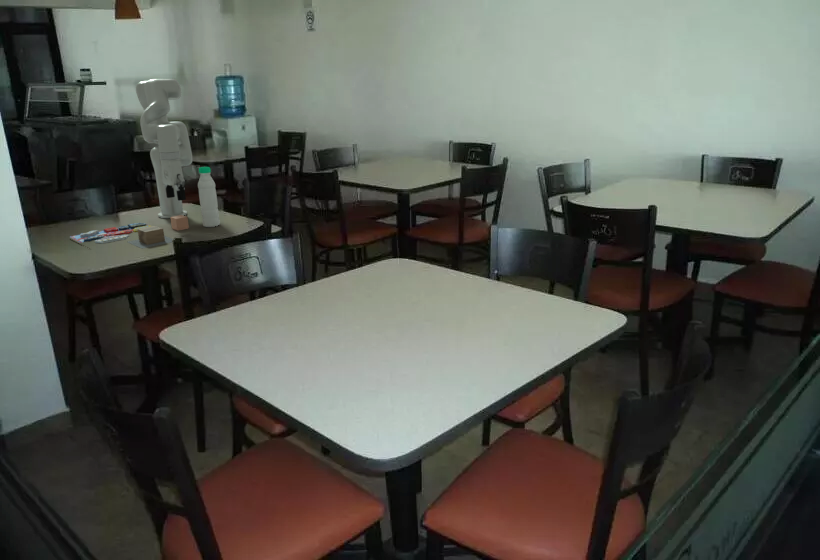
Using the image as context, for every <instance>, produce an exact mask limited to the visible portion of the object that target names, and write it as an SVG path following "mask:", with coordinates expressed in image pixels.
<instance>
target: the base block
mask: <svg viewBox="0 0 820 560" xmlns="http://www.w3.org/2000/svg"><path fill="white" fill-rule="evenodd" d="M150 226H151V227H145V228H140V229H137V230H138V232H137V234H138V236H137V237H138V239H139V242H142V243H144V244H146V245H149V244H154V243H158V242H163V241H165V237H164V236H165V231H164V228H162V227H159V226H157V225H150Z"/></svg>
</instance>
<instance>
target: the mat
mask: <svg viewBox="0 0 820 560" xmlns="http://www.w3.org/2000/svg"><path fill="white" fill-rule="evenodd" d="M164 237H165V241H163V242H158V243H154V244H149V245H146V244H144V243H142V242H139V238H138V239H135V240H129V241H127V243H128V244H131V245H133V246H134V247H137V248H140V249H147V248H152V247H156V246H161V245H165V244H169V243H173V242H172V240H173V239H174V238H172V237H169V236H166V235H164Z"/></svg>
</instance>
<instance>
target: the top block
mask: <svg viewBox="0 0 820 560" xmlns="http://www.w3.org/2000/svg"><path fill="white" fill-rule="evenodd" d="M188 218H189V217H188V216H187V215H185V216H184V215H179V216H173V217H170V218H169V219H170V225H171V230H175V231H177V232H178V231H182V230H186V229H187V230H188V229H190V225H189V219H188Z"/></svg>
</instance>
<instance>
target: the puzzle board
mask: <svg viewBox="0 0 820 560" xmlns="http://www.w3.org/2000/svg"><path fill="white" fill-rule="evenodd" d="M151 226H152V225H150V224H147V223H144V222H136V223H130V224H128V223H127V225H121V226H118V227H115V226H114V227H107V228H103V230H98V229H96V230H95V229H94V230H90V231H88V232H80V233H79V234H76V235H70V236H69V239H70V240H71V241H73V242H74V243H77V244H78V243H79V244H78V245H80V244H81V245H80V246H82V245H83V246H82V247H84V246H85V245H84V244H83V243H86V242H92V241H94V243H95V244H108V243H112V242H113V243H114V242H117V241H124V240H127V239H128V237H130V235H129V234H131V233H132V234H133V233H138V230H137V229H140V228H145V227H151ZM86 247H87V248H86ZM84 248H86V249H88V248H89V250H91V248H90V247H88V246H85V247H84Z"/></svg>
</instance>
